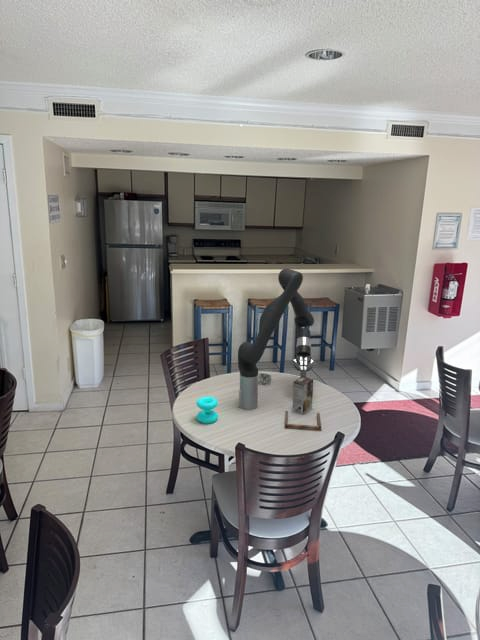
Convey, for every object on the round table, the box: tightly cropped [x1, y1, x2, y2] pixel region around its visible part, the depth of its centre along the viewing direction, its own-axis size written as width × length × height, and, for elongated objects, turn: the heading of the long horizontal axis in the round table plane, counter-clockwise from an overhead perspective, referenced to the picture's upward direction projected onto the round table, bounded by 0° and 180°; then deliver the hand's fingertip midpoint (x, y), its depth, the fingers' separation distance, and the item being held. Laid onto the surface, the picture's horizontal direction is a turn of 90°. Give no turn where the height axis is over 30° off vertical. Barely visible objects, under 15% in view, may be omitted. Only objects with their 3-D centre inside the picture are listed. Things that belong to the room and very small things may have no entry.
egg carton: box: [258, 372, 272, 386], centre depth 252 cm, size 11×8×4 cm
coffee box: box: [292, 376, 314, 416], centre depth 216 cm, size 9×6×16 cm
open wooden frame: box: [284, 410, 322, 432], centre depth 206 cm, size 16×14×2 cm
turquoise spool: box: [196, 396, 219, 424], centre depth 206 cm, size 10×10×10 cm
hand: (303, 377), depth 223 cm, fingers closed
